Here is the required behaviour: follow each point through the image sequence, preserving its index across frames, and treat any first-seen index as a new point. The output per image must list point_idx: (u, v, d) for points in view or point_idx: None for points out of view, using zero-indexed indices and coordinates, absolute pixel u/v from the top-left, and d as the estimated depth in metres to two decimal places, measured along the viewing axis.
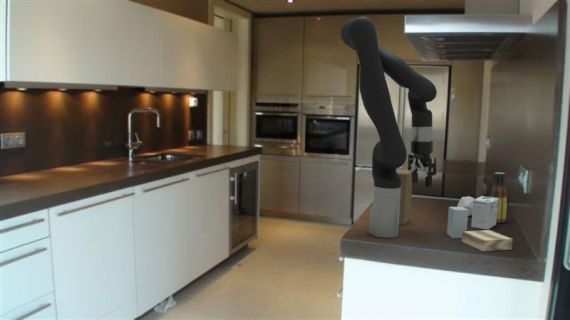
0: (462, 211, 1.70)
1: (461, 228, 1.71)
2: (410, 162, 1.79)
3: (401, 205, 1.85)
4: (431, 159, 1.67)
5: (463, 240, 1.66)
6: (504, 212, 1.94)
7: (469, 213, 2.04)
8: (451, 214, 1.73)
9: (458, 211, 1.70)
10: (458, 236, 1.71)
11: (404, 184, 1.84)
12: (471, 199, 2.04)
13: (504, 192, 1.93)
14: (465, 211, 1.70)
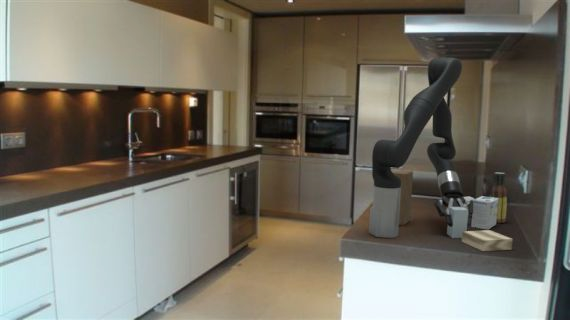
0: (462, 211, 1.70)
1: (461, 228, 1.71)
2: (441, 206, 1.75)
3: (401, 205, 1.85)
4: None
5: (463, 240, 1.66)
6: (504, 212, 1.94)
7: None
8: (451, 214, 1.73)
9: (458, 211, 1.70)
10: (458, 236, 1.71)
11: (404, 184, 1.84)
12: (471, 199, 2.04)
13: (504, 192, 1.93)
14: (465, 211, 1.70)
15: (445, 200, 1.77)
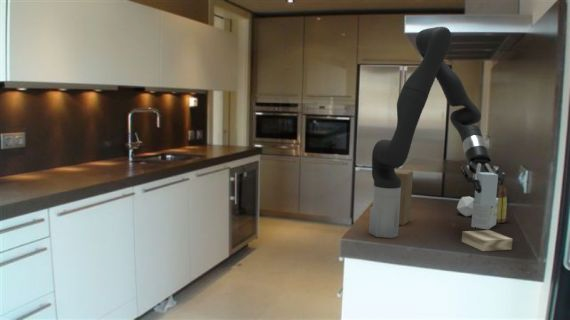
0: (492, 176, 1.60)
1: (490, 194, 1.61)
2: None
3: (401, 205, 1.85)
4: None
5: (463, 240, 1.66)
6: (504, 212, 1.94)
7: (469, 213, 2.04)
8: (479, 180, 1.62)
9: (487, 176, 1.60)
10: (487, 203, 1.61)
11: (404, 184, 1.84)
12: (471, 199, 2.04)
13: (504, 192, 1.93)
14: (495, 176, 1.60)
15: (472, 165, 1.66)
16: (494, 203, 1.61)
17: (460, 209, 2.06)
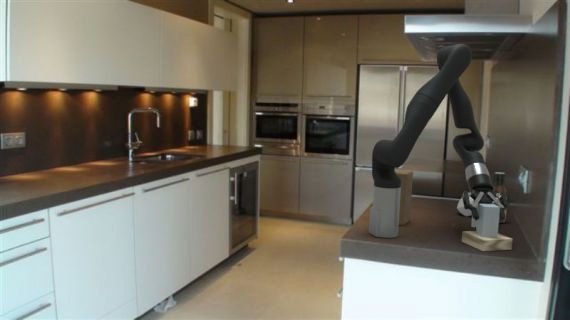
0: (493, 208, 1.59)
1: (492, 226, 1.60)
2: None
3: (401, 205, 1.85)
4: None
5: (463, 240, 1.66)
6: None
7: (469, 213, 2.04)
8: (481, 212, 1.62)
9: (489, 208, 1.59)
10: (489, 235, 1.60)
11: (404, 184, 1.84)
12: (471, 199, 2.04)
13: (504, 192, 1.93)
14: (497, 208, 1.59)
15: (474, 194, 1.66)
16: (496, 235, 1.60)
17: (460, 209, 2.06)
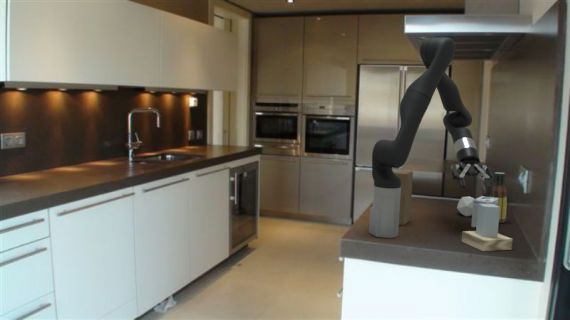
0: (493, 208, 1.59)
1: (492, 226, 1.60)
2: None
3: (401, 205, 1.85)
4: None
5: (463, 240, 1.66)
6: (504, 212, 1.94)
7: (469, 213, 2.04)
8: (481, 212, 1.62)
9: (489, 208, 1.59)
10: (489, 235, 1.60)
11: (404, 184, 1.84)
12: (471, 199, 2.04)
13: (504, 192, 1.93)
14: (497, 208, 1.59)
15: (462, 166, 1.77)
16: (496, 235, 1.60)
17: (460, 209, 2.06)
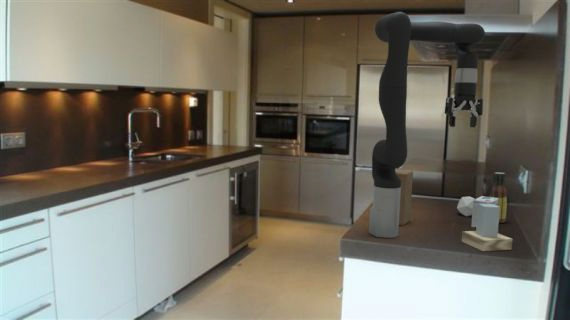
0: (493, 208, 1.59)
1: (492, 226, 1.60)
2: None
3: (401, 205, 1.85)
4: None
5: (463, 240, 1.66)
6: (504, 212, 1.94)
7: (469, 213, 2.04)
8: (481, 212, 1.62)
9: (489, 208, 1.59)
10: (489, 235, 1.60)
11: (404, 184, 1.84)
12: (471, 199, 2.04)
13: (504, 192, 1.93)
14: (497, 208, 1.59)
15: (457, 101, 1.75)
16: (496, 235, 1.60)
17: (460, 209, 2.06)
